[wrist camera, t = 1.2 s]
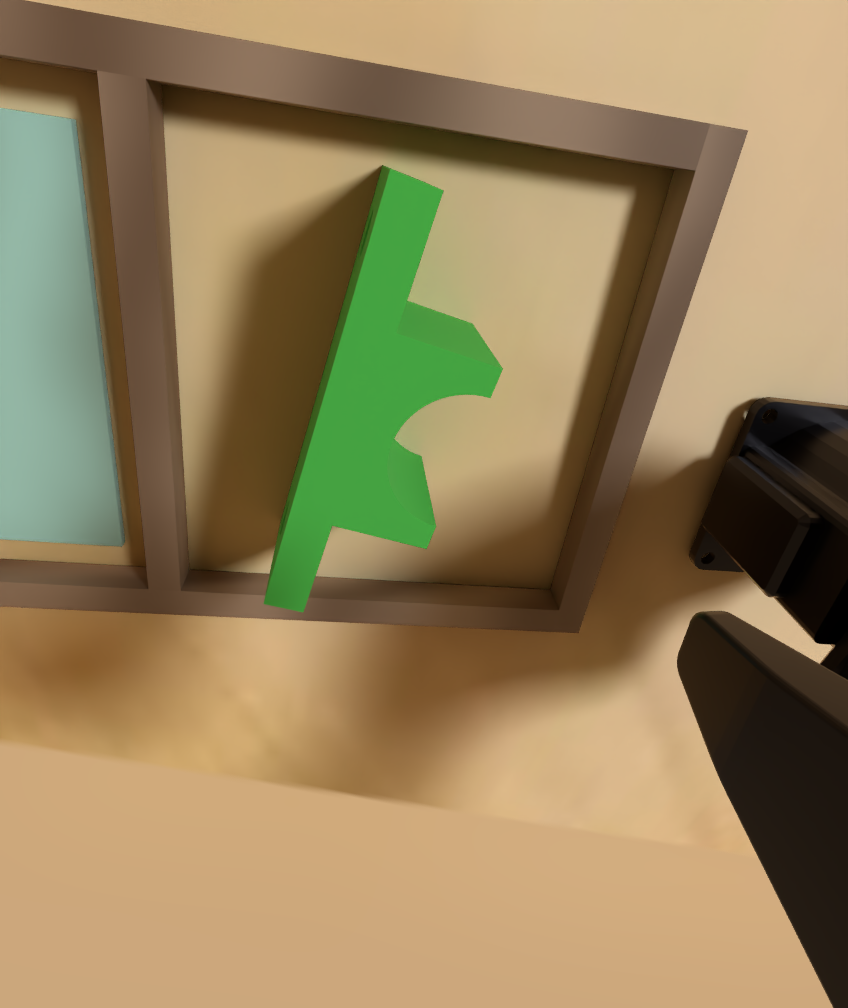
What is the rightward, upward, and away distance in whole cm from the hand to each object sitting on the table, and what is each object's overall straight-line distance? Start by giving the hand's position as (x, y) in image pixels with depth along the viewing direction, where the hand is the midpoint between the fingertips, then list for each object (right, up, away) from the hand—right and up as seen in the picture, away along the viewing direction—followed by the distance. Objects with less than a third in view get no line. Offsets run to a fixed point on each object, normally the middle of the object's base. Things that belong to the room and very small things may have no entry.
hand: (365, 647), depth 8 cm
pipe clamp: (-1, +5, +11) cm, 12 cm away
